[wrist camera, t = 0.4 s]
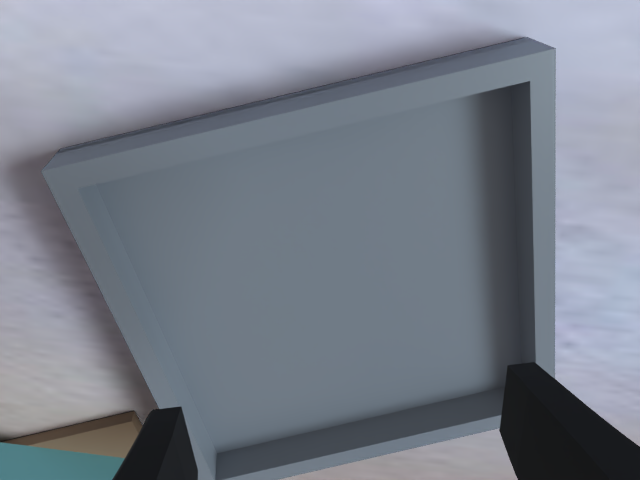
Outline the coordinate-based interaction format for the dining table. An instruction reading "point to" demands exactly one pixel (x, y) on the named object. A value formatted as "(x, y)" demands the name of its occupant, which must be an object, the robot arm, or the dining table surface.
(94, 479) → the collar
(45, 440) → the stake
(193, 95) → the dining table surface
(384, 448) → the tray
